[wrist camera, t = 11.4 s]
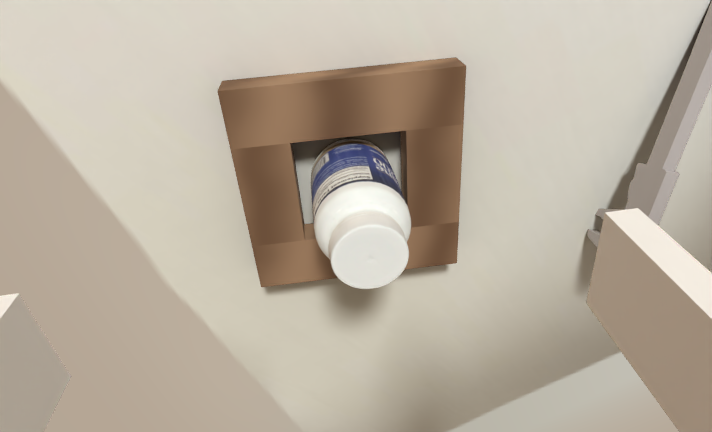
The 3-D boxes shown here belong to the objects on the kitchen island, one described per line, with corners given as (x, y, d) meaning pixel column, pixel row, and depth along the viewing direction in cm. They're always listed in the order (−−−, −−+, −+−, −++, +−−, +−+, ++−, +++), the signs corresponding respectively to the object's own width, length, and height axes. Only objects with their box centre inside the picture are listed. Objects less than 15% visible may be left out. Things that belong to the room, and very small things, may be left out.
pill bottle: (399, 193, 34) (434, 280, 25) (327, 218, 34) (338, 313, 26) (376, 123, 31) (407, 197, 23) (298, 152, 31) (300, 234, 23)
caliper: (595, 234, 38) (644, 285, 33) (582, 232, 38) (630, 283, 32) (755, -60, 28) (864, -56, 23) (740, -65, 28) (846, -62, 22)
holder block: (456, 57, 29) (465, 65, 28) (449, 247, 37) (456, 263, 35) (222, 80, 29) (217, 91, 27) (262, 269, 36) (261, 287, 34)
